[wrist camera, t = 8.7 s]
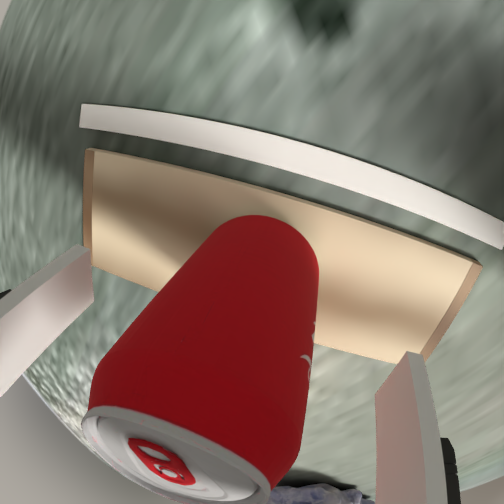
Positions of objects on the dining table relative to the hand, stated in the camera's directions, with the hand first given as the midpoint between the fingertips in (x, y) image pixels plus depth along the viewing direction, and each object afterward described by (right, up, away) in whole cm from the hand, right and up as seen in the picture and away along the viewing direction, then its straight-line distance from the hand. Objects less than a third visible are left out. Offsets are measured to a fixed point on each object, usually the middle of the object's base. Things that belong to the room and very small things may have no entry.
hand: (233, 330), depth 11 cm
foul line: (+3, +8, +3) cm, 9 cm away
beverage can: (+1, +2, +6) cm, 6 cm away
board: (+1, +2, +6) cm, 7 cm away
